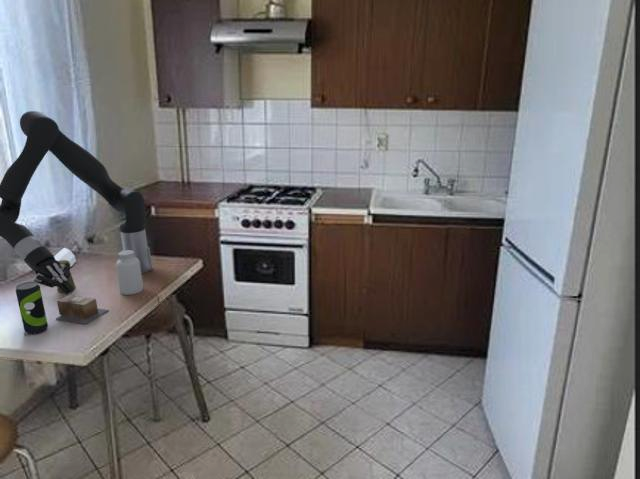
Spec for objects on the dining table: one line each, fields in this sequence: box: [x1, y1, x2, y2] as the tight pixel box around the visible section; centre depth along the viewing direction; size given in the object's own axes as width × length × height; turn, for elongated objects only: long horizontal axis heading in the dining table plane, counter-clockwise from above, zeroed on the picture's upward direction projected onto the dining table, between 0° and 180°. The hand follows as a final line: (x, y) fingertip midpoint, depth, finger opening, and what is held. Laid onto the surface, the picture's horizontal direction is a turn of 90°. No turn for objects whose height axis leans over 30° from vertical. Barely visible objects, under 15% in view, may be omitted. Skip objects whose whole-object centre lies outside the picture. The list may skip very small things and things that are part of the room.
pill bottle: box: [115, 250, 144, 296], centre depth 171 cm, size 8×8×15 cm
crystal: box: [54, 247, 77, 268], centre depth 194 cm, size 7×7×24 cm
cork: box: [56, 260, 76, 293], centre depth 174 cm, size 6×6×11 cm
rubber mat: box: [55, 308, 109, 326], centre depth 154 cm, size 12×10×1 cm
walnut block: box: [56, 294, 99, 319], centre depth 154 cm, size 5×5×11 cm
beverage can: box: [15, 280, 49, 335], centre depth 143 cm, size 6×6×15 cm
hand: (70, 292), depth 153 cm, fingers closed
